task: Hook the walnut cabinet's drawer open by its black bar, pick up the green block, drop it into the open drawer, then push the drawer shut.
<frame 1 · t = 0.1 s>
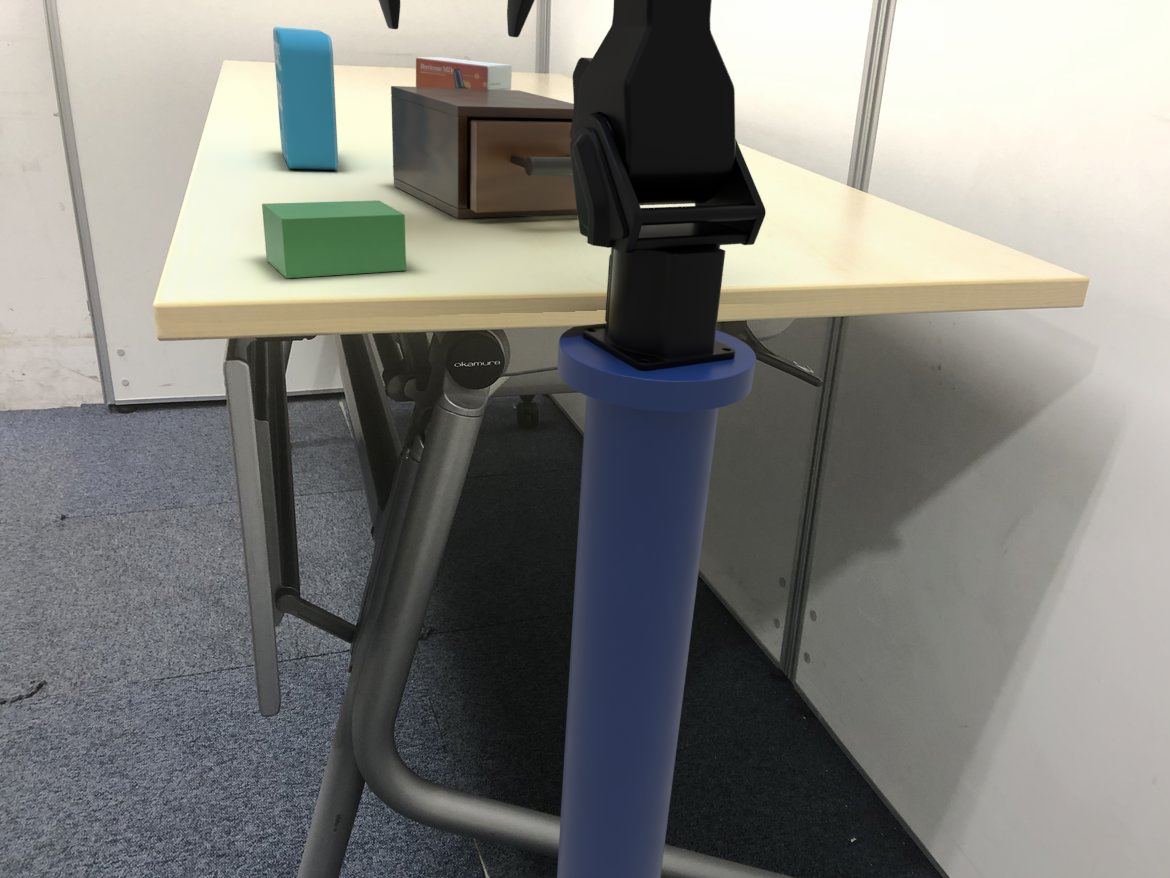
hand: (455, 32, 70), 14 cm above the table, tool pointing down, fingers open, 9 cm apart
drawer: (515, 158, 82), point 4 cm above the table, slide at 1.0 cm
small box: (463, 172, 101), on the table
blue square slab: (309, 163, 98), on the table
green block: (336, 265, 63), on the table
cabinet: (490, 199, 88), on the table
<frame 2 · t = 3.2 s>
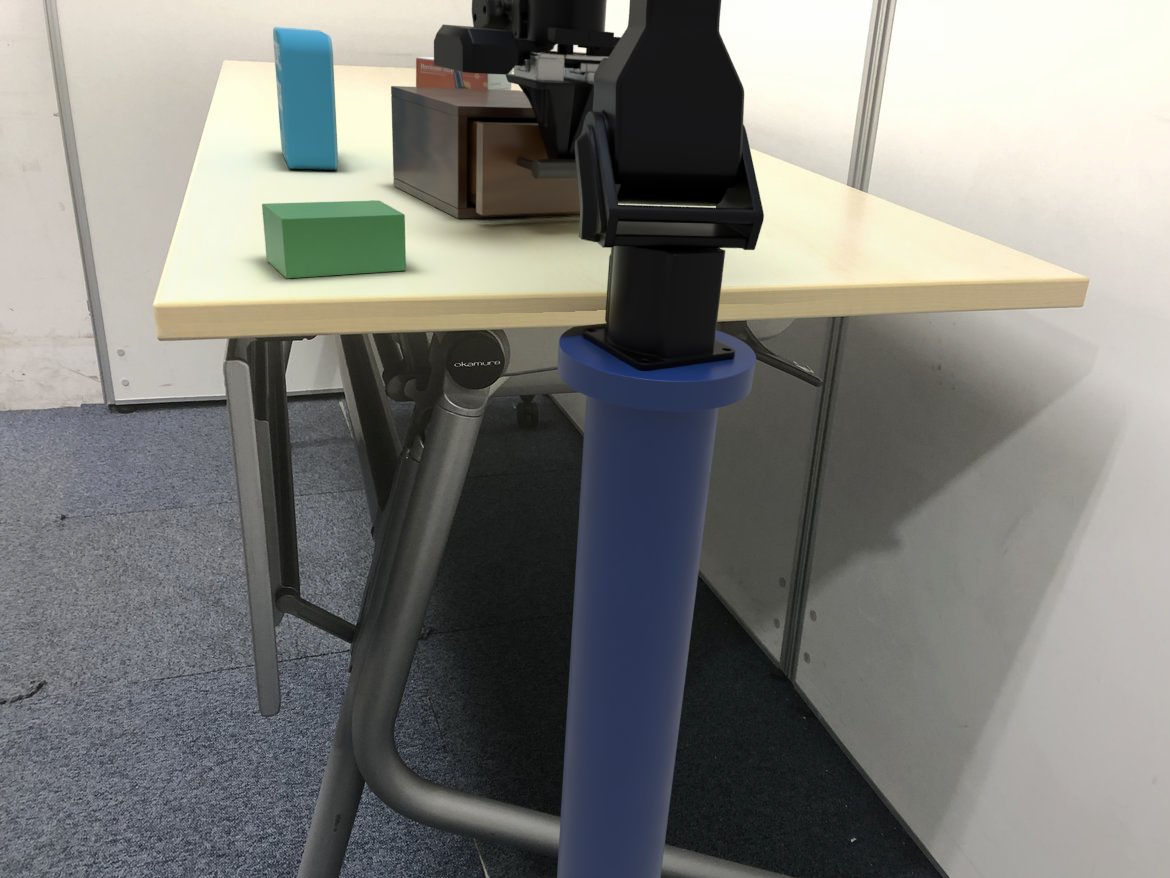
hand: (559, 174, 77), 4 cm above the table, tool pointing down, fingers closed
drawer: (521, 160, 82), point 4 cm above the table, slide at 2.1 cm
everything else where it was.
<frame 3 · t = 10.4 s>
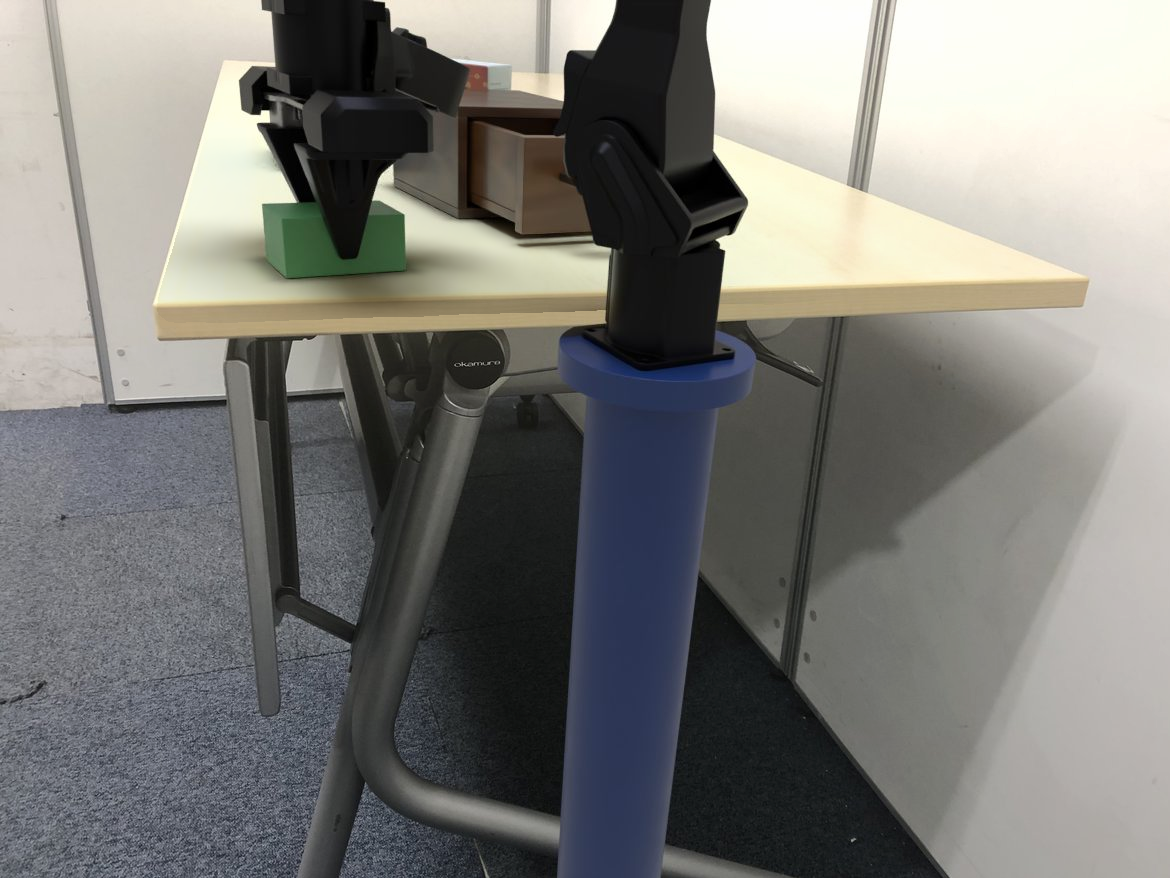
hand: (336, 249, 63), 1 cm above the table, tool pointing down, fingers closed on green block, 4 cm apart
drawer: (561, 174, 77), point 4 cm above the table, slide at 9.0 cm
green block: (336, 265, 63), on the table, touching gripper
everything else where it was.
when the fingers open (7 cm above the table, at t = 15.5 s): green block drops 4 cm, resting on drawer.
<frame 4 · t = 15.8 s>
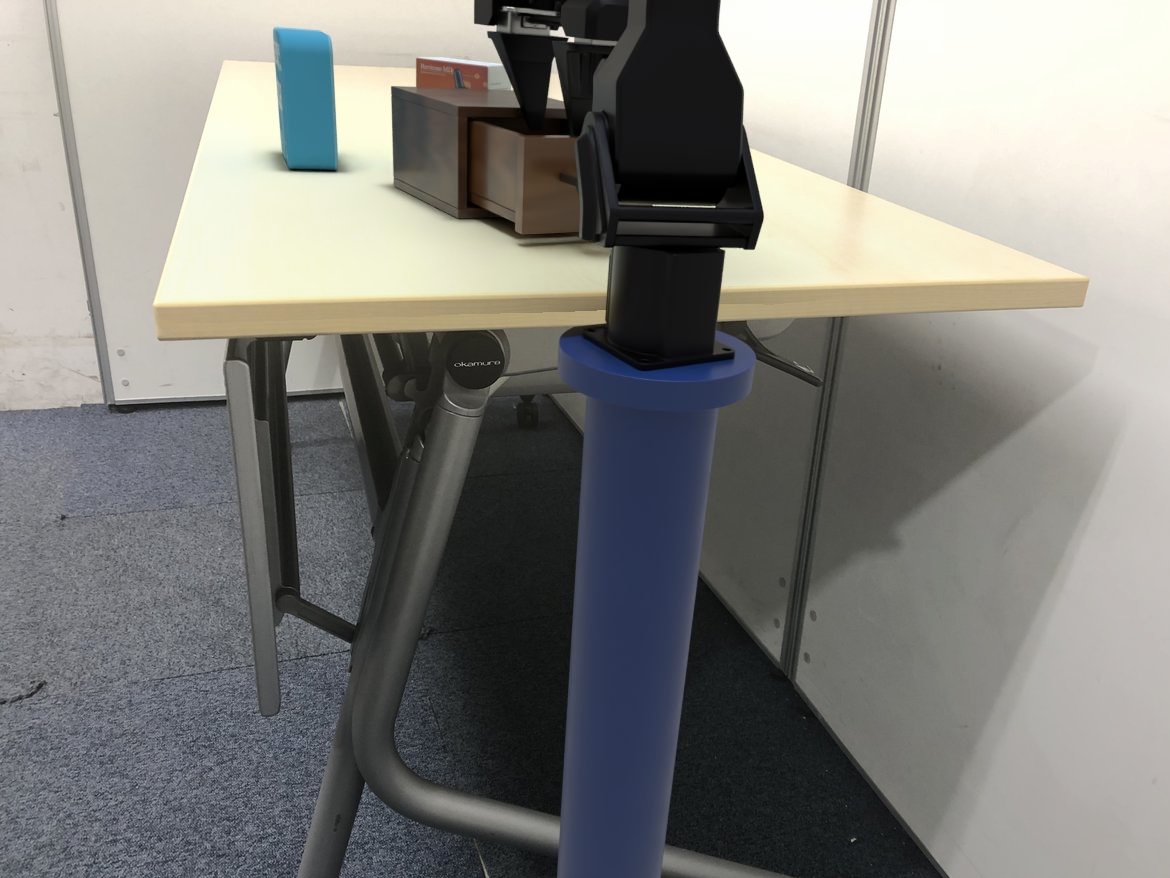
hand: (556, 136, 76), 7 cm above the table, tool pointing down, fingers open, 7 cm apart
drawer: (561, 174, 77), point 4 cm above the table, slide at 9.0 cm, touching green block
green block: (553, 202, 78), point 2 cm above the table, touching drawer
everything else where it was.
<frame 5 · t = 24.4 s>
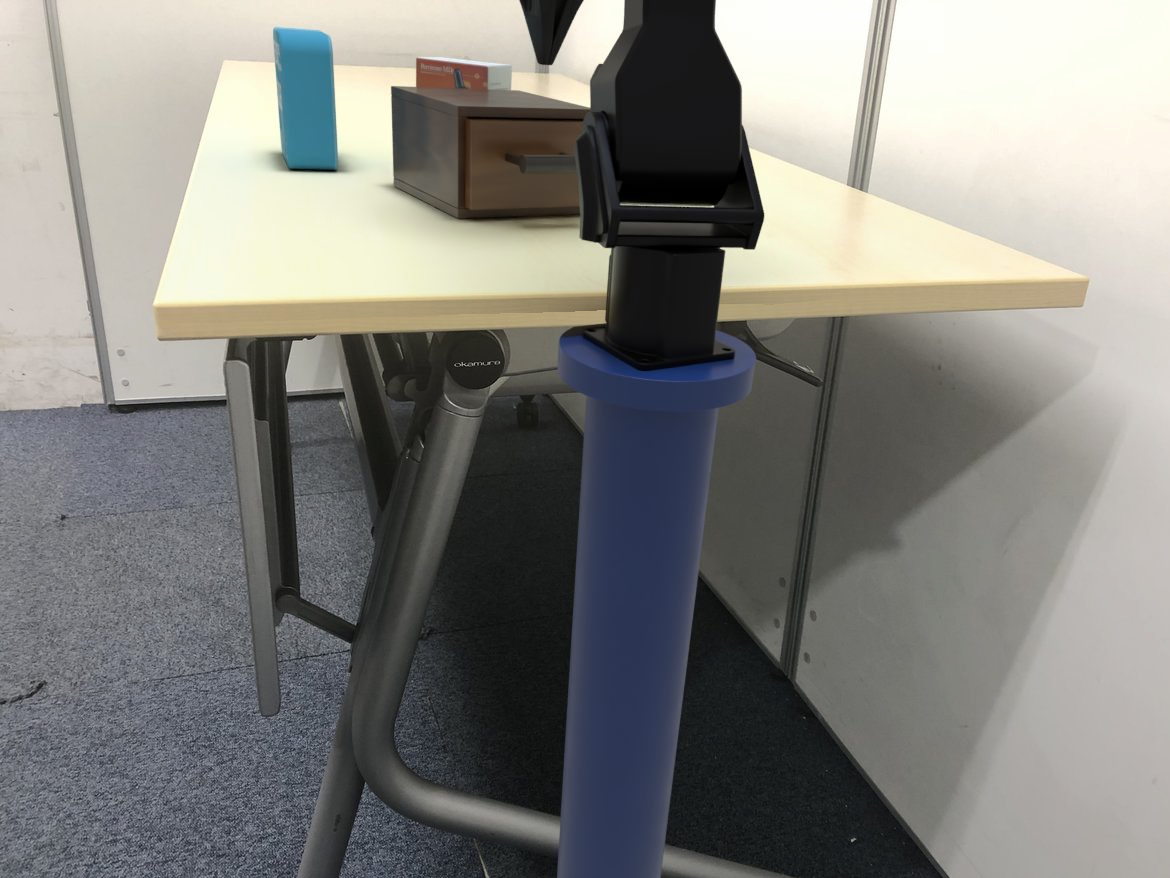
hand: (545, 64, 76), 12 cm above the table, tool pointing down, fingers closed
drawer: (510, 156, 83), point 4 cm above the table, slide at 0.0 cm, touching cabinet, green block
green block: (504, 182, 85), point 2 cm above the table, touching drawer
everything else where it was.
at the end: drawer pulled out 9.3 cm at the most during the clip, back to where it started at the end; green block inside the target area in the cabinet (2.9 cm from its centre), point 2.0 cm above the cabinet's base; drawer slide at 0.0 cm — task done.
